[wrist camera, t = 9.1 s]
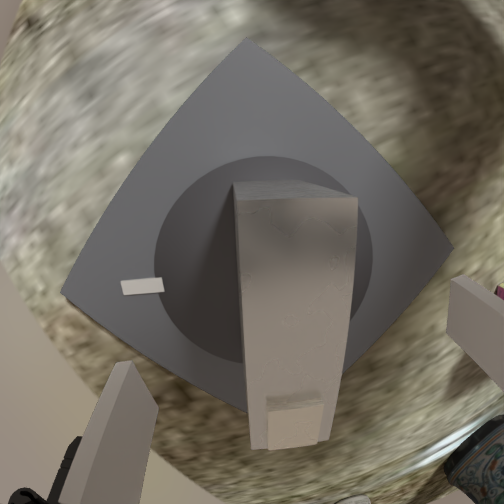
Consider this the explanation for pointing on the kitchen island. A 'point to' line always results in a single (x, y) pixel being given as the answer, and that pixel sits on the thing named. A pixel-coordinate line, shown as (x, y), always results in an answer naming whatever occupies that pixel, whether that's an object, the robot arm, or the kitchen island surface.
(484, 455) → the beer stein
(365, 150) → the dial plate
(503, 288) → the box
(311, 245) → the dial handle
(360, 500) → the spray can
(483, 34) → the kitchen island surface
